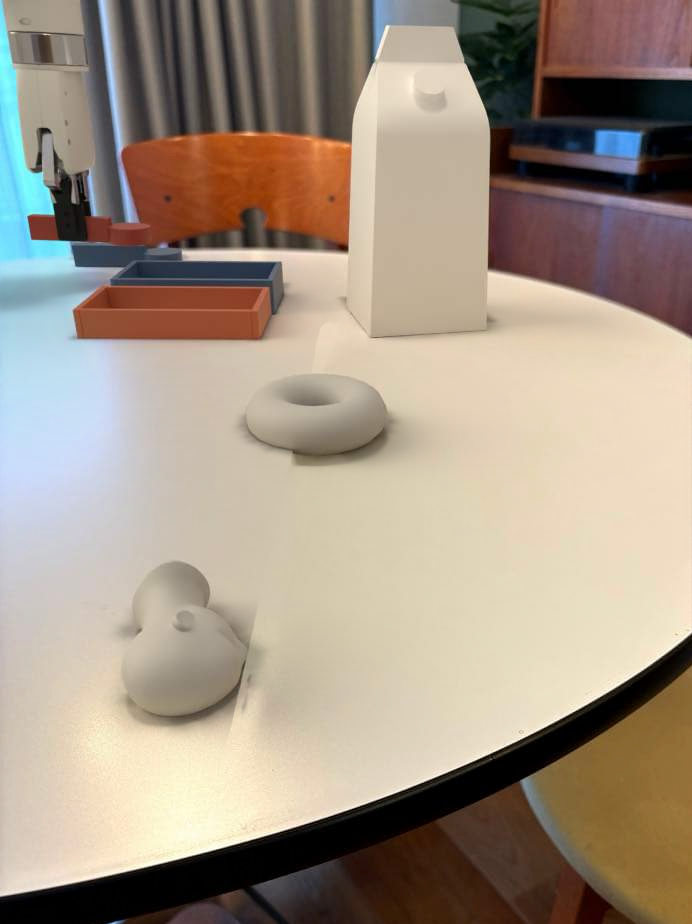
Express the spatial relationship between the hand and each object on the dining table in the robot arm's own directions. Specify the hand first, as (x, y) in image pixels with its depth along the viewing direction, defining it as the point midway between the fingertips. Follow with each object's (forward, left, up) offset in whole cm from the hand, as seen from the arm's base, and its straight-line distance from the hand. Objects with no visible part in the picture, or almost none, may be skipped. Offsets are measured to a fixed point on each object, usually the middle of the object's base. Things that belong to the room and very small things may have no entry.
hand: (76, 237), depth 96 cm
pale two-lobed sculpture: (+27, -72, -5) cm, 77 cm away
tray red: (+16, -21, -5) cm, 27 cm away
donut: (+31, -46, -5) cm, 55 cm away
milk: (+39, -15, -5) cm, 42 cm away
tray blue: (+16, -9, -5) cm, 19 cm away
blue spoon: (+3, +9, -5) cm, 11 cm away
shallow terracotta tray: (+2, 0, 0) cm, 2 cm away
